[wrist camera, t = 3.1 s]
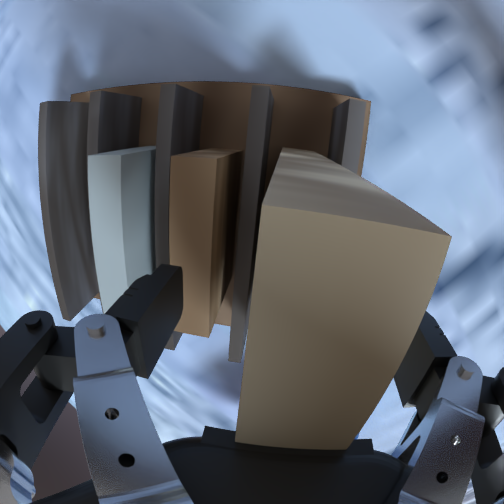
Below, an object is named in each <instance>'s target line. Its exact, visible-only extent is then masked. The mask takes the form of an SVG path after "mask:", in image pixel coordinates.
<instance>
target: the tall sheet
mask: <svg viewBox="0 0 504 504" xmlns="http://www.w3.org/2000/svg"><path fill="white" fill-rule="evenodd" d="M451 237H452V236H450V235H449V234H448V233H446V232H445V231H443V230H442V229H441V228H439V227H438V226H437V225H435V224H434V223H432V222H431V221H430V220H428V219H427V218H425V217H424V216H422V215H421V214H419V213H418V212H416V211H415V210H414V209H412V208H411V207H409V206H407V205H406V204H404V203H403V202H401V201H400V200H398V199H397V198H395V197H394V196H392V195H390V194H389V193H387V192H386V191H384V190H382V189H381V188H379V187H377V186H376V185H374V184H372V183H371V182H369V181H367V180H366V179H364V178H362V177H361V176H359V175H357V174H355V173H354V172H352V171H350V170H348V169H346V168H345V167H343V166H341V165H339V164H337V163H335V162H334V161H332V160H330V159H328V158H326V157H324V156H322V155H320V154H318V153H316V152H314V151H308V150H301V149H294V148H286V147H283V148H282V151H281V153H280V156H279V159H278V162H277V164H276V167H275V170H274V173H273V175H272V178H271V181H270V184H269V186H268V189H267V192H266V195H265V197H264V200H263V203H262V208H261V217H260V226H259V235H258V244H257V253H256V262H255V271H254V280H253V289H252V297H251V306H250V315H249V324H248V333H247V341H246V350H245V359H244V367H243V376H242V384H241V393H240V401H239V410H238V418H237V427H236V435H235V442H240V443H247V444H254V445H263V446H272V447H283V448H296V449H320V450H347V448H348V447H349V446H350V444H351V443H352V442H353V440H354V439H355V437H356V436H357V435H358V433H359V432H360V430H361V429H362V427H363V426H364V424H365V423H366V421H367V420H368V418H369V417H370V415H371V414H372V412H373V411H374V409H375V407H376V406H377V404H378V403H379V401H380V399H381V398H382V396H383V394H384V393H385V391H386V389H387V388H388V386H389V384H390V382H391V381H392V379H393V377H394V375H395V373H396V372H397V370H398V368H399V366H400V364H401V362H402V360H403V358H404V356H405V354H406V352H407V350H408V348H409V346H410V344H411V342H412V340H413V338H414V336H415V334H416V332H417V329H418V327H419V325H420V323H421V321H422V318H423V316H424V314H425V311H426V309H427V306H428V304H429V301H430V299H431V296H432V294H433V291H434V289H435V286H436V283H437V281H438V278H439V275H440V272H441V269H442V266H443V263H444V260H445V257H446V254H447V251H448V248H449V244H450V241H451Z"/></svg>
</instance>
